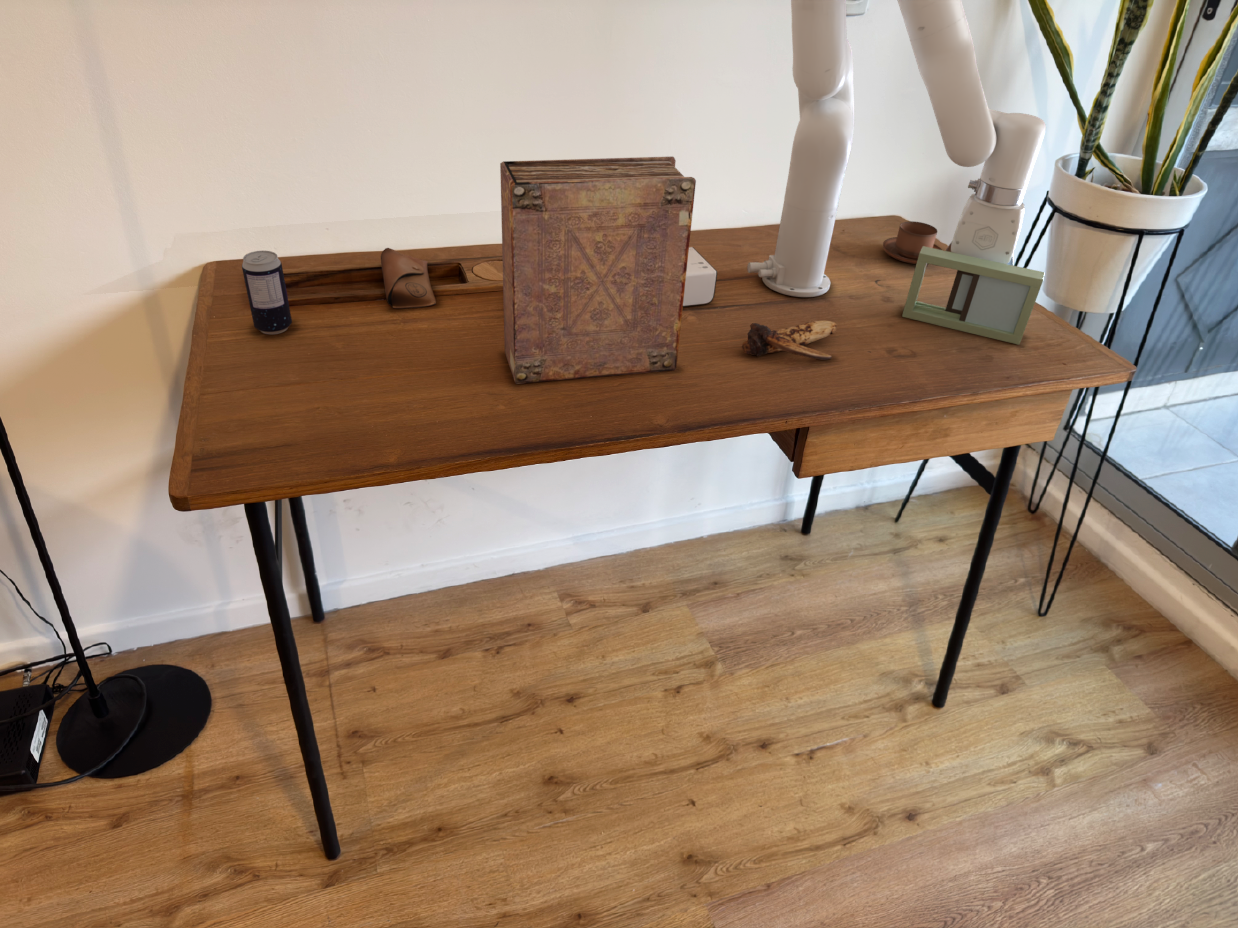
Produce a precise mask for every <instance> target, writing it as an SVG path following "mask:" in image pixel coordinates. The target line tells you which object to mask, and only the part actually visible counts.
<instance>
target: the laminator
mask: <svg viewBox="0 0 1238 928" xmlns="http://www.w3.org/2000/svg"><path fill="white" fill-rule="evenodd" d="M717 281H718V270H717V269H716V268H715V267H714V266H713V265H712V264H711V263H710V262H709V261H708V260H707V259H706V258H705V257H704V256H703V255H702V254H700V252H699V251H698V250H697V249H696V248H695V247H694V246H689V252H688V261H687V271H686V281H685V290H684V300H683V308H688V307H698V306H705V305H709V304H711V302H712V301H713V300H714V299H715V296H716V295H715V294H716V288H717V287H716V286H717Z"/></svg>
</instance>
